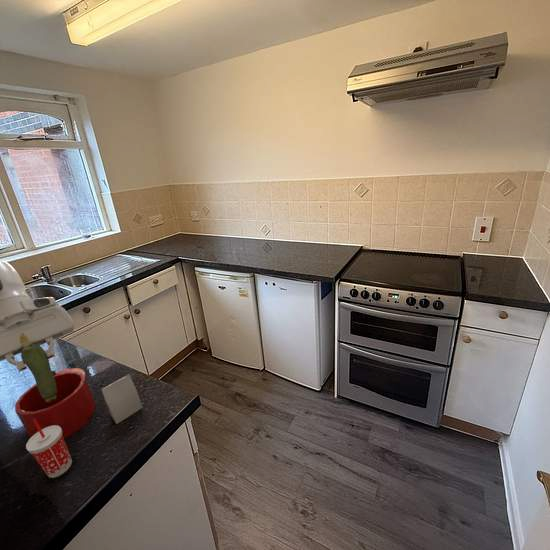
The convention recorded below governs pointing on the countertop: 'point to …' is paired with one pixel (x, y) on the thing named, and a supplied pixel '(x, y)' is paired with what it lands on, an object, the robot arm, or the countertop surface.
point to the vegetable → (39, 368)
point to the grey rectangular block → (122, 399)
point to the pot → (58, 405)
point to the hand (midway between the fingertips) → (37, 363)
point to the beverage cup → (50, 450)
